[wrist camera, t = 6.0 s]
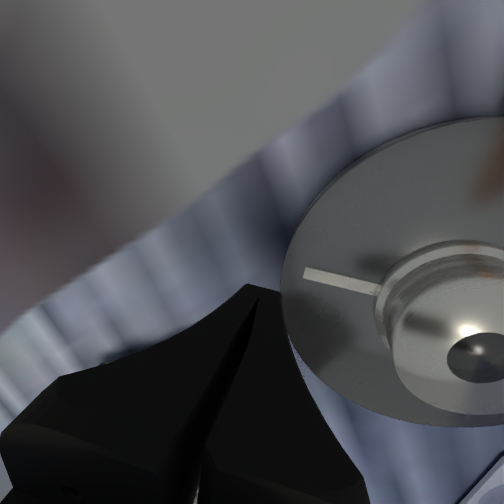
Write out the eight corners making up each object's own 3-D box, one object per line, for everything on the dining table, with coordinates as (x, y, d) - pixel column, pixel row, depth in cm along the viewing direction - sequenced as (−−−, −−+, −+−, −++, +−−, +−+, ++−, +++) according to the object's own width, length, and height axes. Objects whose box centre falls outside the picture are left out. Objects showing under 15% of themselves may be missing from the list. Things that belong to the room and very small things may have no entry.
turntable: (882, 60, 9) (1268, 29, 5) (527, 439, 17) (581, 528, 13) (345, -6, 10) (355, -62, 7) (261, 362, 19) (245, 423, 15)
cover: (573, 259, 11) (653, 308, 9) (490, 375, 14) (530, 440, 11) (402, 225, 12) (426, 260, 9) (355, 342, 15) (363, 395, 12)
